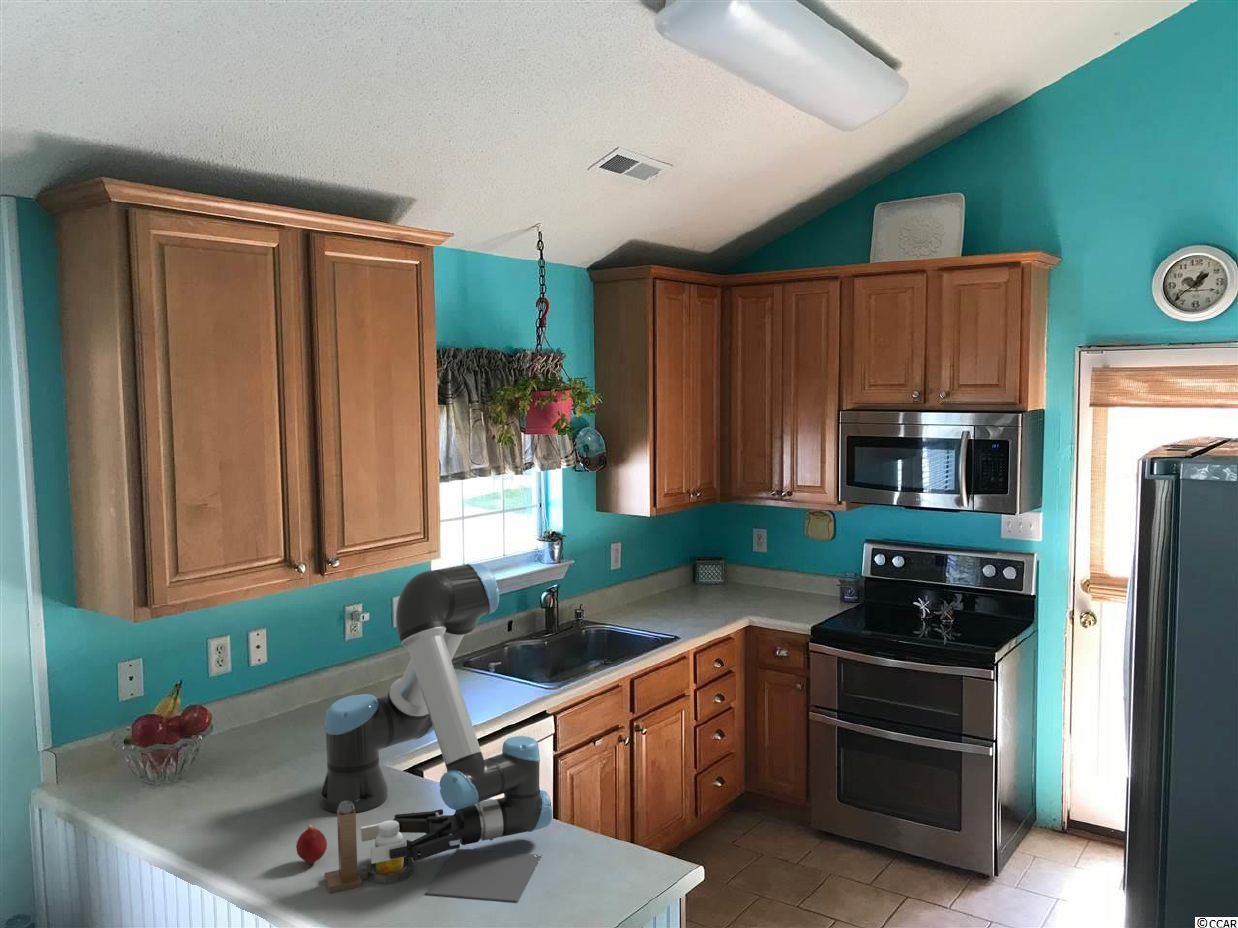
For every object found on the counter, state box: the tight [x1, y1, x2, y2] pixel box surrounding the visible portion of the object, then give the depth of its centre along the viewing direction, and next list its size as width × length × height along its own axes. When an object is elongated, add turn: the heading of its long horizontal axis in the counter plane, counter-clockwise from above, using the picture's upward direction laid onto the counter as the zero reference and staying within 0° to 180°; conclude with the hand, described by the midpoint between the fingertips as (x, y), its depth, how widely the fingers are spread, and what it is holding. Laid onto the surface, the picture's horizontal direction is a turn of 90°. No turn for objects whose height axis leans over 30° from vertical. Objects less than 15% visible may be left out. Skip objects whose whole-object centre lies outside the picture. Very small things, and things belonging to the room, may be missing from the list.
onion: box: [295, 824, 328, 865], centre depth 195 cm, size 6×6×8 cm
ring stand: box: [324, 800, 414, 894], centre depth 189 cm, size 14×16×16 cm
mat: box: [424, 848, 543, 903], centre depth 190 cm, size 18×18×1 cm
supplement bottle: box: [374, 819, 405, 874], centre depth 191 cm, size 5×5×10 cm
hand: (366, 844), depth 189 cm, fingers open, 9 cm apart
